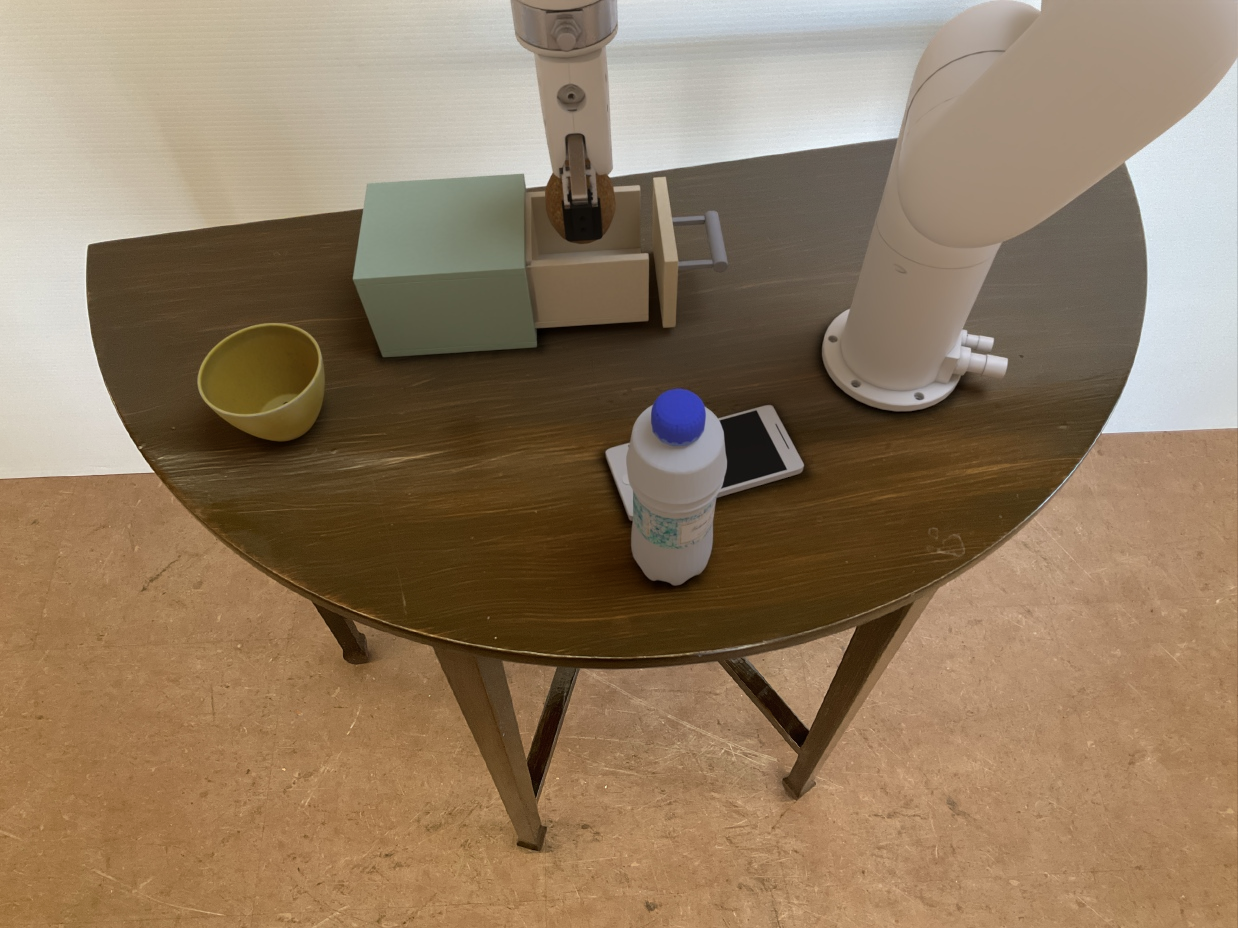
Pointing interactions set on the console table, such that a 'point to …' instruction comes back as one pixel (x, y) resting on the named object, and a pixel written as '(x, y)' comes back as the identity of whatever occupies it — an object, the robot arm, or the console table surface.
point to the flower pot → (265, 380)
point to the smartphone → (734, 454)
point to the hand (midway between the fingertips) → (582, 210)
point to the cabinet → (445, 265)
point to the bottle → (675, 485)
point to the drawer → (610, 263)
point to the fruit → (556, 189)
